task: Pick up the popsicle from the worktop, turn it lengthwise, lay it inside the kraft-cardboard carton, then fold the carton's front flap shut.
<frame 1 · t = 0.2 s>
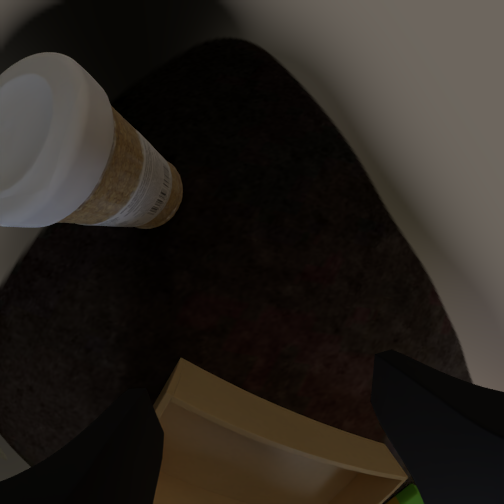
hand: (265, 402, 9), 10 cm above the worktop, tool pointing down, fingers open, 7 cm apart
popsicle: (407, 496, 21), on the worktop
carton: (258, 460, 20), on the worktop
sprinkles bottle: (149, 194, 19), on the worktop
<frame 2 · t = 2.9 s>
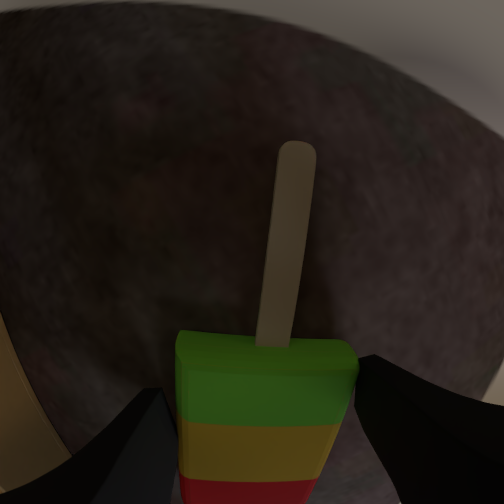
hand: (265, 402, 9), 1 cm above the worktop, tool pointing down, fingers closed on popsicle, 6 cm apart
popsicle: (260, 373, 10), on the worktop, touching gripper
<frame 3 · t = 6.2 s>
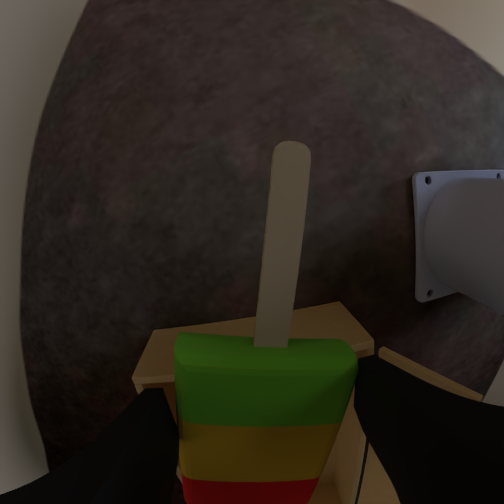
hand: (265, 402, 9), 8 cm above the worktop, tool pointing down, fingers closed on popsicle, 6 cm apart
popsicle: (260, 373, 10), point 7 cm above the worktop, touching gripper
carton: (266, 430, 19), on the worktop
flap: (394, 492, 12), point 8 cm above the worktop, hinge at 110.0°
when the fingers open (2 cm above the worktop, at t = 9.4 s): popsicle stays where it is, resting on carton.
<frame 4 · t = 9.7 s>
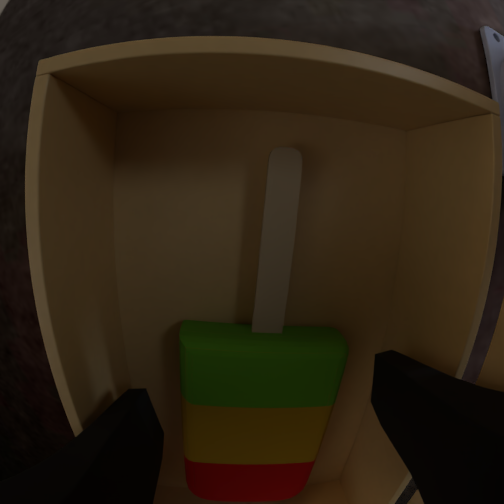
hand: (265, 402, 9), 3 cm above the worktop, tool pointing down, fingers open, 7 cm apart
popsicle: (258, 360, 11), resting on carton
carton: (257, 356, 11), on the worktop
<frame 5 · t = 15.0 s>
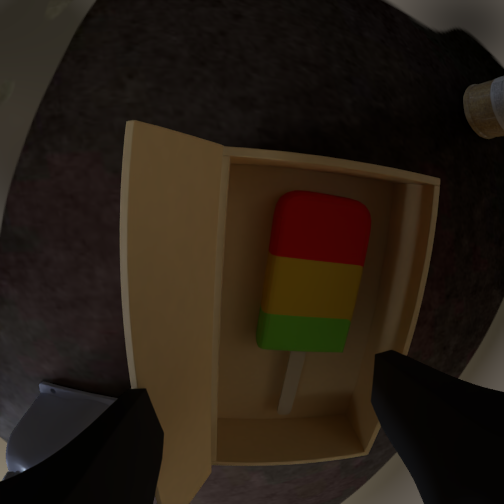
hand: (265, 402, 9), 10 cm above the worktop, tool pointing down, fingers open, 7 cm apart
popsicle: (300, 313, 19), resting on carton
carton: (300, 312, 19), on the worktop
flap: (179, 384, 11), point 8 cm above the worktop, hinge at 114.0°
sprinkles bottle: (477, 112, 17), on the worktop
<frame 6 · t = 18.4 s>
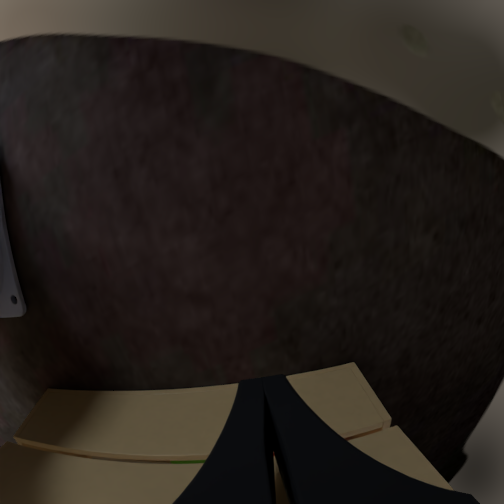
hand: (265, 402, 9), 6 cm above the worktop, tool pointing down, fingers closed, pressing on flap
popsicle: (205, 453, 16), resting on carton
carton: (205, 451, 16), on the worktop
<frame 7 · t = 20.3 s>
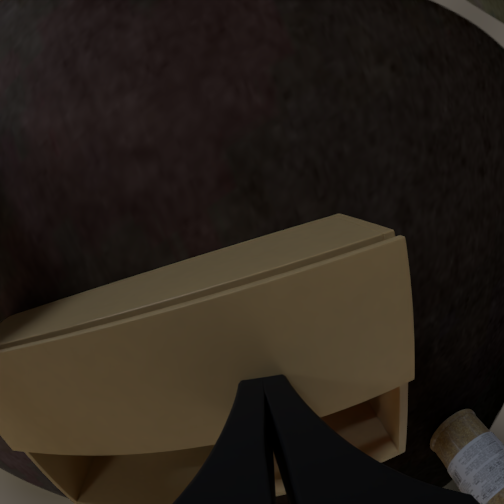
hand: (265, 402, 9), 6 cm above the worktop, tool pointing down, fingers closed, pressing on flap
carton: (183, 372, 14), on the worktop
flap: (133, 397, 9), point 5 cm above the worktop, hinge at -1.0°, touching gripper
sprinkles bottle: (449, 426, 18), on the worktop
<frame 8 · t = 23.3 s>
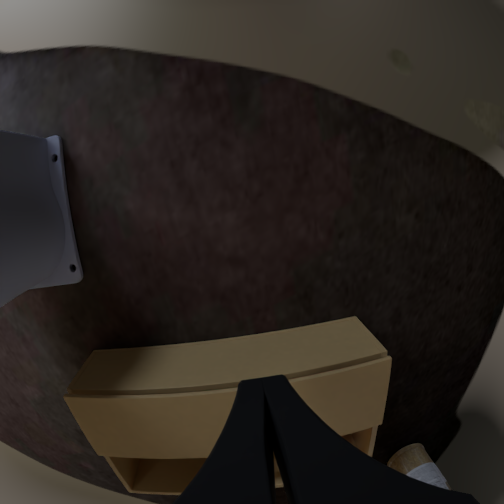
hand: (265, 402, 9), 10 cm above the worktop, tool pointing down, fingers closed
carton: (232, 401, 21), on the worktop
flap: (227, 425, 15), point 5 cm above the worktop, hinge at -1.2°
sprinkles bottle: (403, 454, 25), on the worktop
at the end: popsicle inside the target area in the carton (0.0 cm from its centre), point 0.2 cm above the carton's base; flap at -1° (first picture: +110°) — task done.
